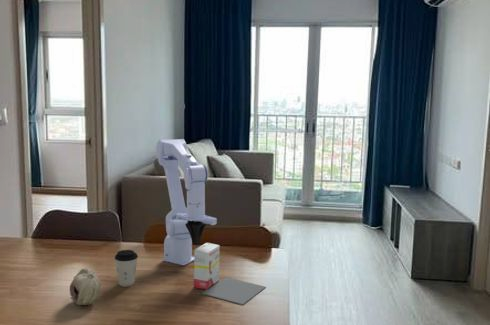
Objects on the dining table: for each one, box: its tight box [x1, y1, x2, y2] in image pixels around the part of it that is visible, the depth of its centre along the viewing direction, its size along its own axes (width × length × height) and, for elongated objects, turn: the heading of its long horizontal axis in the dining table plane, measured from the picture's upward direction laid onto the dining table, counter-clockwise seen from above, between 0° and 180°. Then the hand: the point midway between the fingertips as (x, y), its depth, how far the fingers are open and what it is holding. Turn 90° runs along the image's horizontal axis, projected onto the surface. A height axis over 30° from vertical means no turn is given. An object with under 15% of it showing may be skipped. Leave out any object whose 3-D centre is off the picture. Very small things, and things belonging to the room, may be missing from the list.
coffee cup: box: [114, 249, 139, 288], centre depth 141 cm, size 7×7×10 cm
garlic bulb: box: [69, 267, 101, 306], centre depth 127 cm, size 9×8×10 cm
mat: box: [201, 277, 266, 306], centre depth 138 cm, size 14×14×1 cm
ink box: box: [193, 242, 221, 291], centre depth 142 cm, size 9×5×12 cm, turn 157°
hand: (196, 243), depth 148 cm, fingers closed
